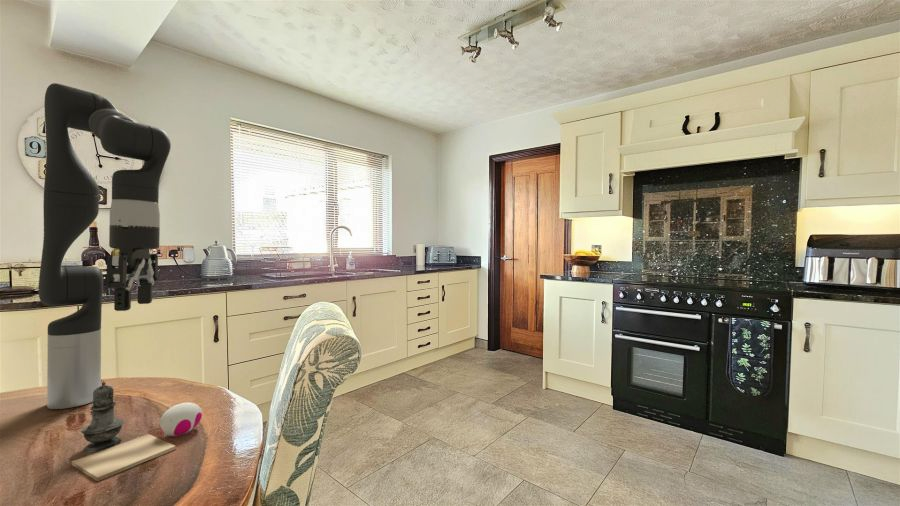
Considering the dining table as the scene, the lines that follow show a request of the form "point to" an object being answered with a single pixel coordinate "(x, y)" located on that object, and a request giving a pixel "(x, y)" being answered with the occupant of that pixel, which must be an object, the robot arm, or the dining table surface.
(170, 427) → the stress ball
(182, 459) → the dining table surface
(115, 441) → the grey chess piece
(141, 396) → the dining table surface
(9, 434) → the dining table surface
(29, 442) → the dining table surface
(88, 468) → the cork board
